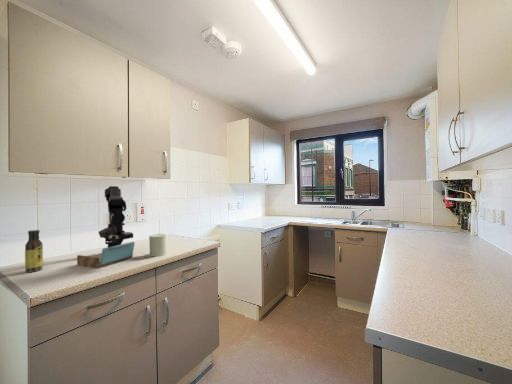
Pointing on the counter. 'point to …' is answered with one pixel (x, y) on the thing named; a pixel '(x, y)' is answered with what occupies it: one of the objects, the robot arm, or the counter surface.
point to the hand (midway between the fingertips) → (116, 250)
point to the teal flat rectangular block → (117, 252)
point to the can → (157, 245)
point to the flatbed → (95, 261)
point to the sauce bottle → (33, 252)
